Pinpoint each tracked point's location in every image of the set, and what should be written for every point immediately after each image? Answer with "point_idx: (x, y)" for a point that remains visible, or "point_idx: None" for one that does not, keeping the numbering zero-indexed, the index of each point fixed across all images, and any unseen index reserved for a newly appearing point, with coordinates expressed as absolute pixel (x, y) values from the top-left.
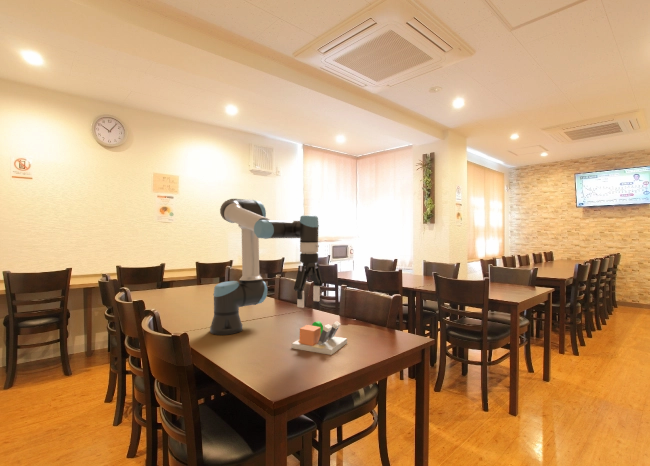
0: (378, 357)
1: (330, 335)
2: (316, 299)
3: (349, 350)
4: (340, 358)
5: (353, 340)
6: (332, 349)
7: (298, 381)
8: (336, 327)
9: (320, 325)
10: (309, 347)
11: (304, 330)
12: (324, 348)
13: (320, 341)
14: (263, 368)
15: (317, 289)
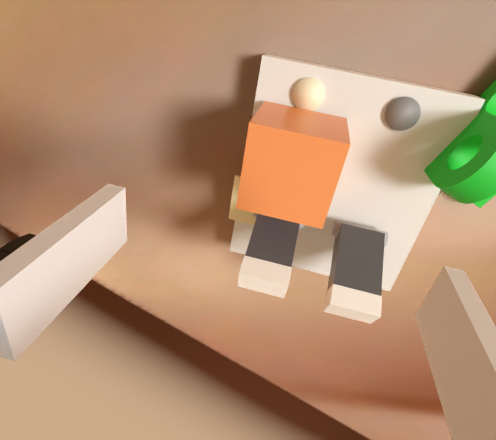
0: (255, 358)
1: (334, 248)
2: (432, 308)
3: (297, 289)
4: (212, 269)
5: None
6: (239, 251)
7: (11, 187)
8: (325, 301)
9: (453, 193)
10: None
11: (244, 152)
12: (235, 225)
13: (254, 214)
14: (14, 31)
15: (465, 429)
